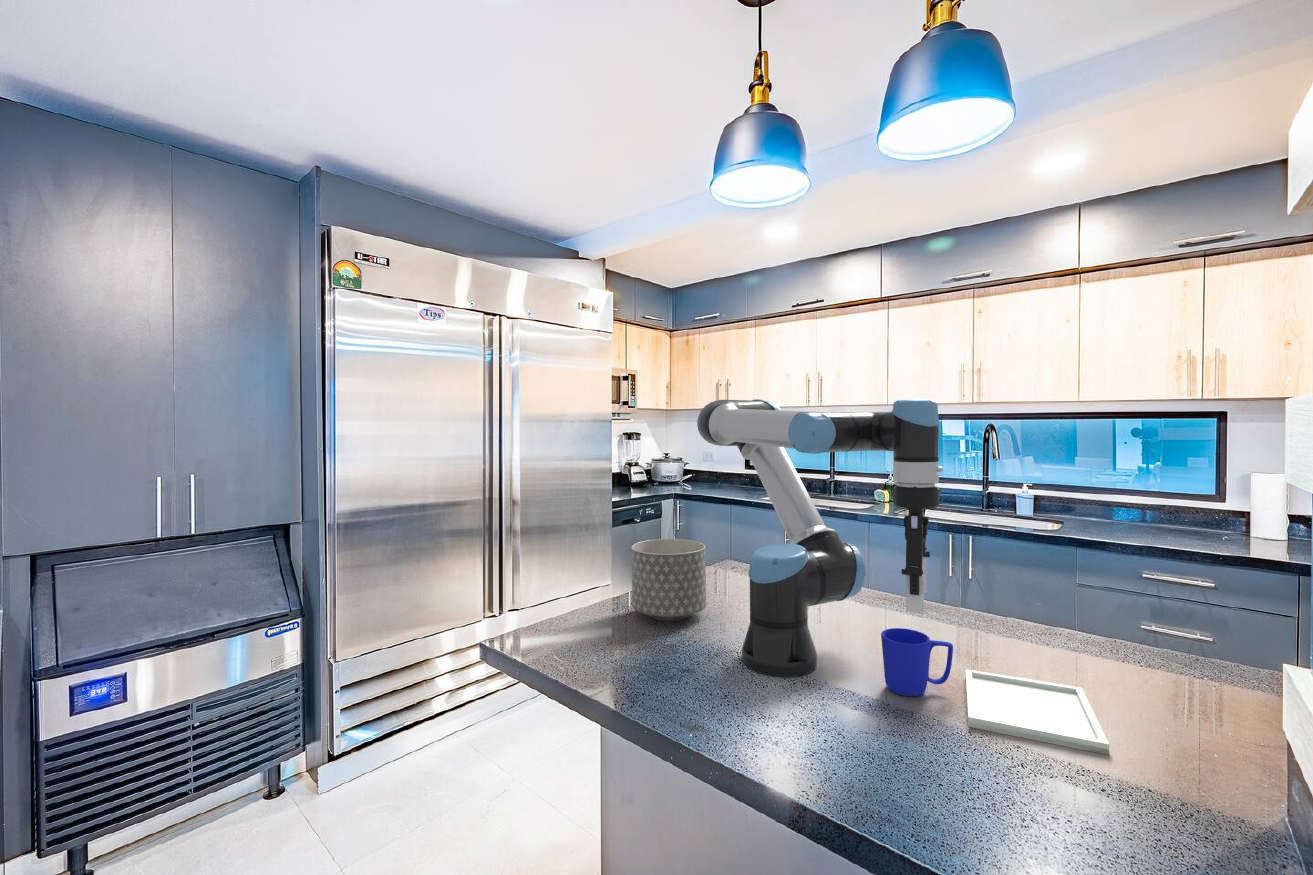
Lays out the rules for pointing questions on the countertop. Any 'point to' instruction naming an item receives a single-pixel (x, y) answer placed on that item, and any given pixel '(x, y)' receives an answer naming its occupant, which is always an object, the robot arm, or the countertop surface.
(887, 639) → the mug
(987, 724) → the tray
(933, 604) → the countertop surface
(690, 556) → the planter
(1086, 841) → the countertop surface
